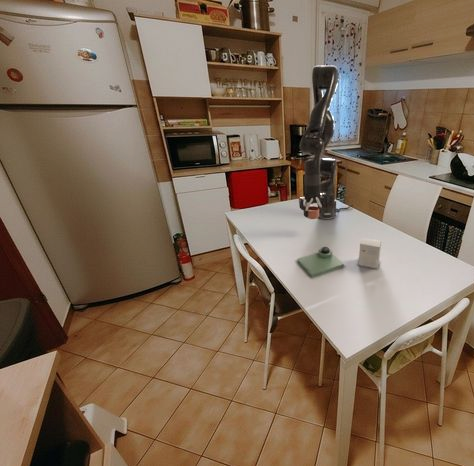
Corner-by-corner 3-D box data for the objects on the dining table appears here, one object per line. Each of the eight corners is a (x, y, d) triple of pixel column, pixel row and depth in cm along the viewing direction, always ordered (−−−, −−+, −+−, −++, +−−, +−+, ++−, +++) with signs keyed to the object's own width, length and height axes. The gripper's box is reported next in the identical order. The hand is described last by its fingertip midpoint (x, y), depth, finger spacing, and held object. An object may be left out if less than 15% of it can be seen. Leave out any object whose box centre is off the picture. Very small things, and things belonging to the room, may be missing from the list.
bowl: (315, 213, 134) (315, 204, 132) (321, 217, 129) (321, 209, 127) (303, 215, 131) (303, 207, 129) (310, 220, 126) (309, 212, 124)
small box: (379, 261, 113) (381, 240, 108) (377, 269, 108) (380, 247, 103) (360, 258, 115) (362, 237, 110) (358, 265, 110) (360, 243, 105)
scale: (327, 252, 119) (327, 246, 118) (343, 266, 109) (344, 260, 108) (297, 261, 113) (297, 255, 111) (312, 277, 103) (312, 271, 101)
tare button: (326, 249, 116) (326, 246, 116) (330, 252, 114) (330, 249, 113) (320, 251, 115) (320, 247, 114) (324, 254, 112) (324, 251, 112)
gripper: (302, 187, 116) (303, 221, 124) (329, 182, 122) (328, 215, 130) (294, 182, 122) (296, 215, 130) (321, 178, 128) (321, 209, 136)
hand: (312, 215), depth 130 cm, fingers closed on bowl, 6 cm apart
